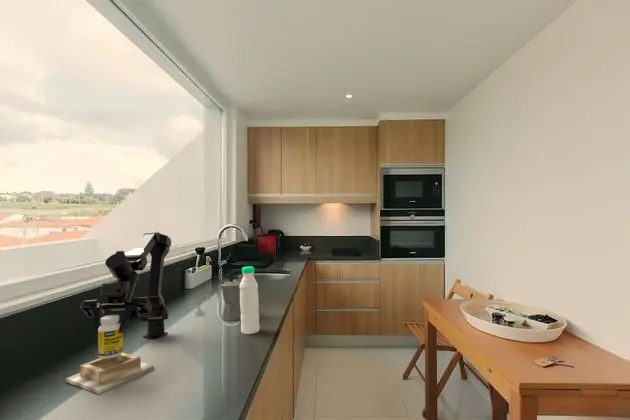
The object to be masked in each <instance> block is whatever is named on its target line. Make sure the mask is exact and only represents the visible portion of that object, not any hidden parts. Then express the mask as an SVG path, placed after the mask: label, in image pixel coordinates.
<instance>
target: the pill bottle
mask: <svg viewBox="0 0 630 420" xmlns="http://www.w3.org/2000/svg"><path fill="white" fill-rule="evenodd" d="M120 318H121V317H120V315H119V314H110V315H105V316H104V317H102V318H101V324H102V325H101V326H100V327H99V328H98V335H97V343H98V344H97V347H98V348H97V351H98V359H99V358H101V359H109V358H113V357H117V356H119V355H121V354H122V353H124V334H123V332H124V331H123V332H122V333H121V334H120V333H119V328H120V325H121V322H119V321H120Z"/></svg>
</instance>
